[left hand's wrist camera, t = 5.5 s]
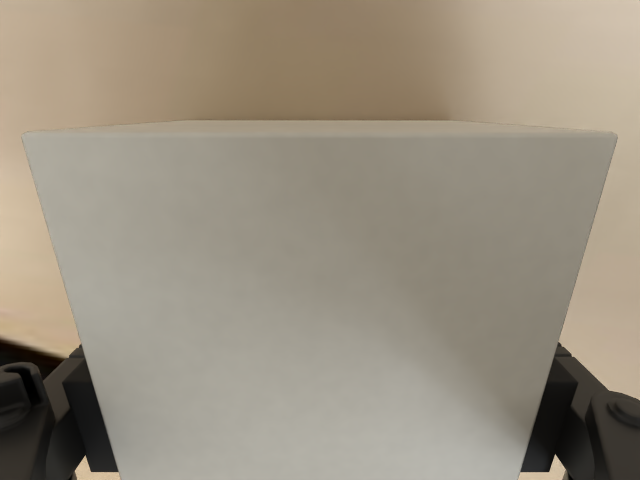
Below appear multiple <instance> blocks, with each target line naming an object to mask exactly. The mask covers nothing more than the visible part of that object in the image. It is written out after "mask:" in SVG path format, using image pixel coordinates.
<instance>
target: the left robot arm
mask: <svg viewBox="0 0 640 480" xmlns="http://www.w3.org/2000/svg"><path fill="white" fill-rule="evenodd" d="M555 454H556V456H557V457H558V458H559V460H560V461H561V463H562V464H563V466H564V467H565V469H566V471H565V474H564V477H563V479H562V480H640V400H638V399H636V398H633V397H631V396H628V395H625V394H623V393H618V392H613V391H609V390H608V389H607V388H606V387H605V386H604V385H603V384H602V383H600V382H599V381H598V380H597V379H596V378H595V377H594V376H593V375H592V374H591V373H590V372H589V371H588V370H587V369H586V368H585V367H584V366H583V365H582V364H581V363H580V362H579V361H578V360H577V359H576V358H575V357H572V356H571V353H570V352H568V351H567V350H566V349H565V348H564V347H562V346H561V344H560V343H559V342H558V344H557V348H556V351H555V354H554V358H553V361H552V365H551V368H550V372H549V375H548V378H547V382H546V385H545V389H544V392H543V396H542V399H541V402H540V406H539V409H538V413H537V416H536V420H535V423H534V426H533V430H532V433H531V437H530V440H529V443H528V447H527V450H526V454H525V457H524V461H523V464H522V467H521V471H520V472H549V471H550V468H551V465H552V462H553V459H554V456H555ZM85 455H86V458H87V461H88V464H89V467H90V470H91V472H119V471H118V468H117V465H116V461H115V458H114V454H113V451H112V447H111V444H110V440H109V437H108V434H107V430H106V427H105V423H104V420H103V416H102V413H101V410H100V406H99V403H98V399H97V396H96V392H95V389H94V385H93V382H92V379H91V375H90V372H89V368H88V365H87V361H86V358H85V355H84V351H83V348H82V344H81V345H80V346H79V348H76V349H75V350H74V351H73V352H72V353H71V354H70V355H69V358H66V359H65V360H64V361H63V362H62V363H61V364H60V365H59V366H58V367H57V368H56V369H55V370H54V371H53V372H52V373H51V374H50V375H49V376H48V377H47V378H46V379H45V380H44V381H43V380H42V378H41V375H40V372H39V369H38V366H36V365H34V364H33V363H27V362H19V363H13V364H7V365H4V366H1V367H0V480H77V477H76V474H75V469H76V468H77V467H78V465H79V464H80V462H81V461H82V459H83V458H84V456H85Z"/></svg>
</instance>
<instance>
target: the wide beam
mask: <svg viewBox="0 0 640 480" xmlns="http://www.w3.org/2000/svg"><path fill="white" fill-rule="evenodd" d="M22 142H23V145H24V148H25V152H26V155H27V159H28V162H29V166H30V169H31V172H32V176H33V179H34V183H35V186H36V190H37V193H38V197H39V200H40V203H41V207H42V210H43V214H44V217H45V221H46V224H47V227H48V231H49V234H50V238H51V241H52V245H53V248H54V251H55V255H56V258H57V262H58V265H59V269H60V272H61V276H62V279H63V282H64V286H65V289H66V293H67V296H68V300H69V303H70V306H71V310H72V313H73V317H74V320H75V324H76V327H77V331H78V334H79V337H80V341H81V344H82V348H83V351H84V355H85V358H86V361H87V365H88V368H89V372H90V375H91V379H92V382H93V385H94V389H95V392H96V396H97V399H98V403H99V406H100V410H101V413H102V416H103V420H104V423H105V427H106V430H107V434H108V437H109V440H110V444H111V447H112V451H113V454H114V458H115V461H116V465H117V468H118V471H119V475H120V478H121V480H518V478H519V474H520V471H521V467H522V464H523V461H524V457H525V454H526V450H527V447H528V443H529V440H530V437H531V433H532V430H533V426H534V423H535V420H536V416H537V413H538V409H539V406H540V402H541V399H542V396H543V392H544V389H545V385H546V382H547V378H548V375H549V372H550V368H551V365H552V361H553V358H554V354H555V351H556V348H557V344H558V341H559V337H560V334H561V330H562V327H563V324H564V320H565V317H566V313H567V310H568V307H569V303H570V300H571V296H572V293H573V289H574V286H575V283H576V279H577V276H578V272H579V269H580V265H581V262H582V259H583V255H584V252H585V248H586V245H587V241H588V238H589V235H590V231H591V228H592V224H593V221H594V217H595V214H596V211H597V207H598V204H599V200H600V197H601V194H602V190H603V187H604V183H605V180H606V176H607V173H608V170H609V166H610V163H611V159H612V156H613V152H614V149H615V146H616V142H617V135H616V134H615V133H613V132H606V131H592V130H578V129H565V128H551V127H537V126H524V125H510V124H496V123H483V122H469V121H455V120H180V121H166V122H152V123H138V124H124V125H111V126H97V127H83V128H69V129H55V130H41V131H28V132H26V133H24V134H22Z"/></svg>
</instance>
